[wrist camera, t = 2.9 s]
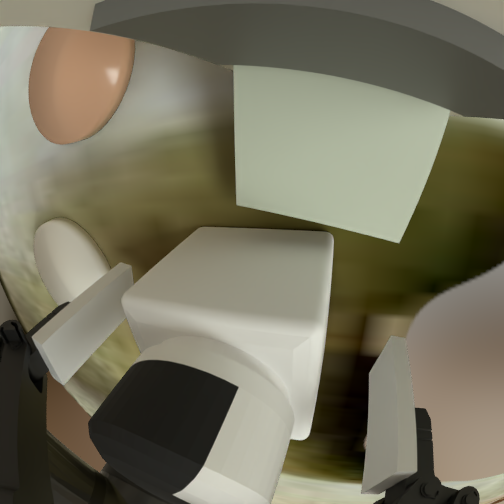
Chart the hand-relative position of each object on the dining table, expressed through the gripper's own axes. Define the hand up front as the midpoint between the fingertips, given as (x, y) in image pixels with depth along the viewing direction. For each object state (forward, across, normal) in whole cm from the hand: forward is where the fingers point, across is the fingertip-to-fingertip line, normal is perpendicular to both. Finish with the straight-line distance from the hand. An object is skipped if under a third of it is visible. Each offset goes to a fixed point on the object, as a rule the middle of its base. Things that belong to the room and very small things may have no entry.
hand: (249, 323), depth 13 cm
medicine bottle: (+4, 0, 0) cm, 4 cm away
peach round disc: (+3, +14, -12) cm, 19 cm away
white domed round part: (+3, +16, +4) cm, 17 cm away
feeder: (+3, -2, -12) cm, 13 cm away
